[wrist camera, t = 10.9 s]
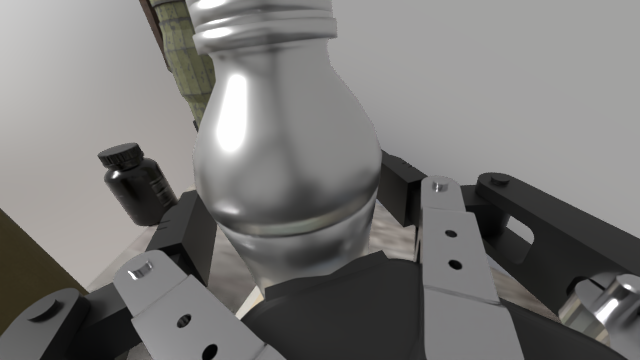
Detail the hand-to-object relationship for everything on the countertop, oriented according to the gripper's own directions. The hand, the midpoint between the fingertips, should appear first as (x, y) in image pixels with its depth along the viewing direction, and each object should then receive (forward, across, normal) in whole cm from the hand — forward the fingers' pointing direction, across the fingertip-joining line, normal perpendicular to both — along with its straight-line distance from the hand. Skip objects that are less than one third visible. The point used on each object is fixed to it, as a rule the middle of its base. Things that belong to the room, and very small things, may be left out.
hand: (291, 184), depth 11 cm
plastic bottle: (-2, 0, +12) cm, 13 cm away
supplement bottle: (+28, +21, +16) cm, 38 cm away
